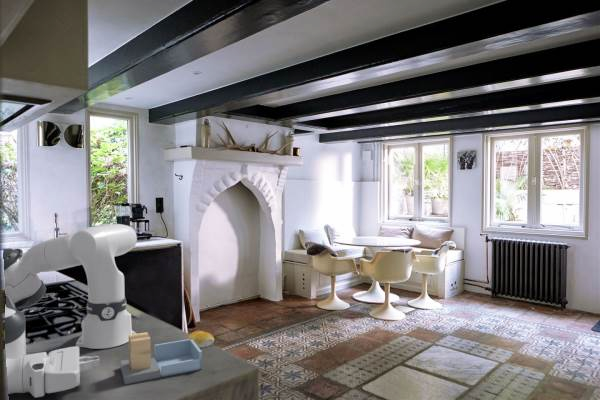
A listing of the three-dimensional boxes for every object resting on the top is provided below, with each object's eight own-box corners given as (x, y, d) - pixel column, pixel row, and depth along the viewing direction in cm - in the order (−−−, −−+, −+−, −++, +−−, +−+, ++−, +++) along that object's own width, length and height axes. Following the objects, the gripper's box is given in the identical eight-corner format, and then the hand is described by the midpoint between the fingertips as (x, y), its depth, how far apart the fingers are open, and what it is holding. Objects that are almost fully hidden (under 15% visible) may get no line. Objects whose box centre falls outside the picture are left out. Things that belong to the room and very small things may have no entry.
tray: (154, 361, 126) (154, 344, 126) (192, 354, 132) (191, 338, 131) (161, 377, 116) (161, 358, 116) (202, 369, 121) (201, 351, 121)
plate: (120, 367, 122) (120, 360, 122) (153, 361, 126) (153, 355, 126) (124, 384, 112) (124, 377, 112) (160, 377, 116) (160, 370, 116)
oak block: (129, 363, 120) (128, 334, 120) (147, 359, 123) (147, 332, 123) (131, 371, 115) (130, 341, 115) (150, 367, 117) (150, 338, 117)
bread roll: (202, 337, 148) (202, 326, 147) (218, 344, 141) (218, 331, 141) (181, 344, 142) (181, 332, 141) (196, 350, 135) (196, 338, 135)
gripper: (41, 368, 117) (97, 359, 123) (34, 401, 99) (101, 388, 105) (41, 345, 117) (97, 337, 123) (34, 374, 98) (100, 362, 105)
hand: (99, 360), depth 114 cm, fingers closed
